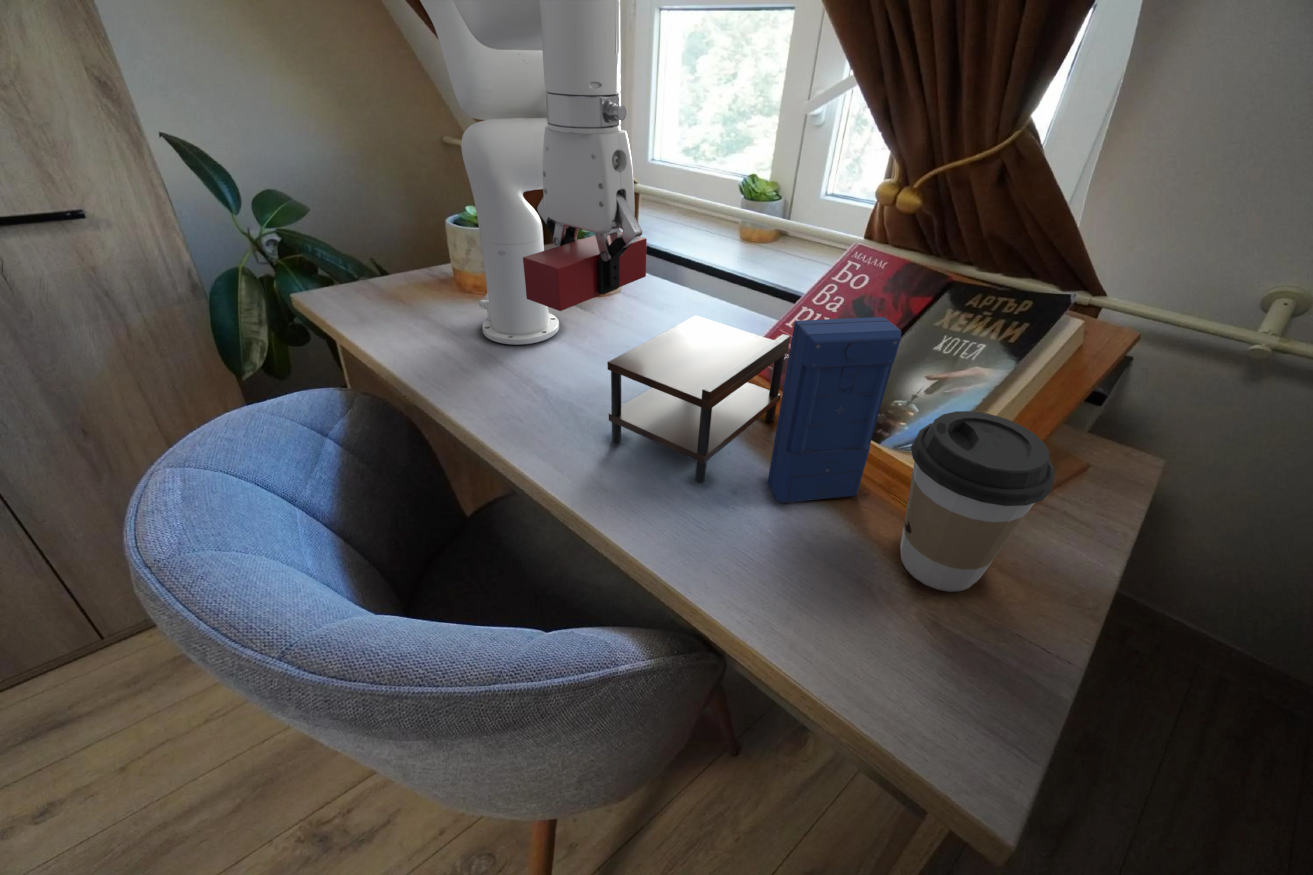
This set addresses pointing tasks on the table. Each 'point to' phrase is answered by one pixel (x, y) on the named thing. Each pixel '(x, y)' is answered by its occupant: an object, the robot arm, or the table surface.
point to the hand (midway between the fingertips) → (589, 283)
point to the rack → (697, 387)
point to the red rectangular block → (576, 272)
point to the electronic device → (830, 406)
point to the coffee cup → (969, 495)
